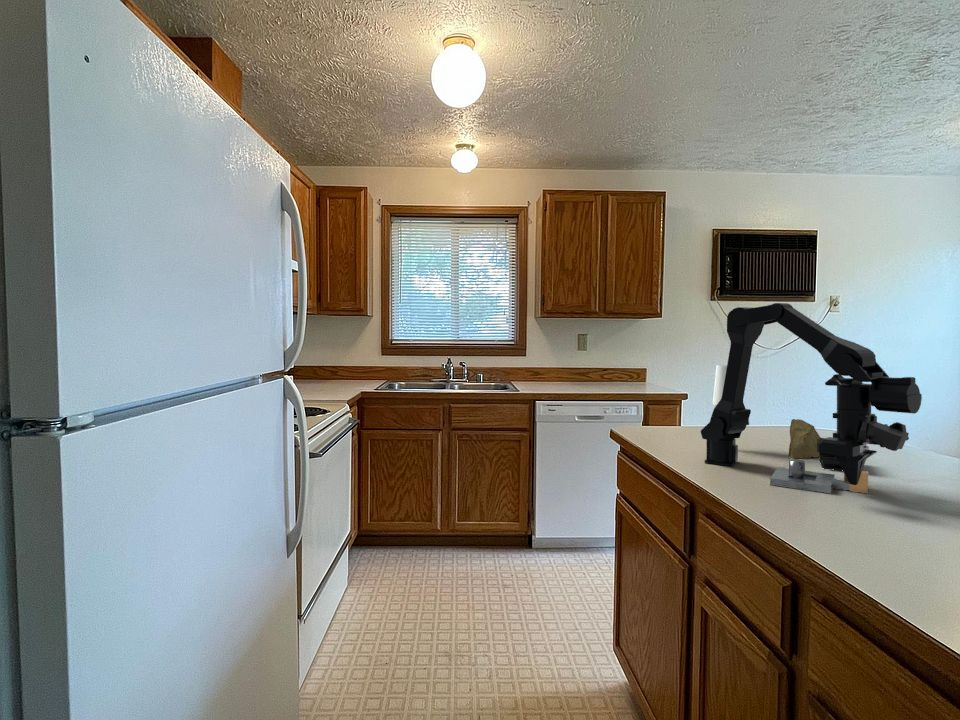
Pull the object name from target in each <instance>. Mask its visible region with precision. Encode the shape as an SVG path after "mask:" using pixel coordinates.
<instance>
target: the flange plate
mask: <svg viewBox="0 0 960 720" xmlns="http://www.w3.org/2000/svg"><path fill="white" fill-rule="evenodd" d="M835 477H836V476H835V474H831V473H826V472H825V473H824V472H818V471H811V470H809V471H808V470H805V479H798V478H791V477H789V468H785V467H776V469H775V471H774V472H773V473H772V475H771V476H770V478H769V485H770V486H774V487H782V488H789V489H795V488H796V489H797V490H802V489H803V490H804V491H809V490H810V491H809V492H815V491H817V492H816V493H822V492H824V493H823V494H829V493H831V494H832V492H833V489H832V488H835V489H834V490H838V489H843V490H842V491H846V490H850V491H855V492H854V493H857V492H861V493H860V494H864V493H867V494H866V495H868V494H869V493H868V492H869V471H866V470H862V472H861V475H860V478H859V481H858V484H857V485H851V484H850V483H849V481H844V479H835ZM796 489H795V490H796ZM850 491H849V492H850Z"/></svg>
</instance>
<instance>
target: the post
mask: <svg viewBox="0 0 960 720" xmlns="http://www.w3.org/2000/svg"><path fill="white" fill-rule="evenodd" d="M788 469H789V477H791V478H798V479H805V471H806V461H805V460H802V459H798V458H794V459H791V458H790V459H789V460H788Z"/></svg>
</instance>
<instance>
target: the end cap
mask: <svg viewBox="0 0 960 720" xmlns="http://www.w3.org/2000/svg"><path fill="white" fill-rule="evenodd" d="M824 438H825V437H821V438H820V440H821V439H824ZM820 440H819V441H820ZM818 458H819V461H820V462H819V464H820V463H821V464H820V466H821V468H824V469H823V470H825V469H834V470H833V471H835V470H842V468H841V466H840V464H839V463H838V461H837V459H836V458H835V456H834V455H832V454H825V453H819V457H818Z"/></svg>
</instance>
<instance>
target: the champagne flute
mask: <svg viewBox="0 0 960 720" xmlns="http://www.w3.org/2000/svg"><path fill="white" fill-rule="evenodd" d="M726 369H727V364H717V365H716V366H715V375H714V383H713V395H712V407H714V408H715V407H716V405H717V404H718V403H719V401H720V400H721V398H722V393H723V387H724V381H725V375H726ZM714 408H713V409H714Z"/></svg>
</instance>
